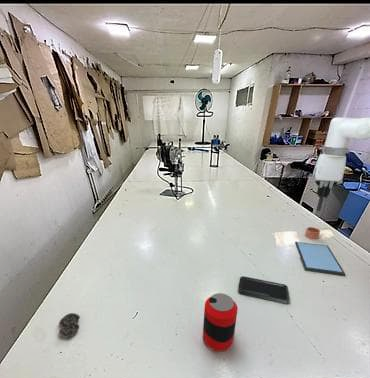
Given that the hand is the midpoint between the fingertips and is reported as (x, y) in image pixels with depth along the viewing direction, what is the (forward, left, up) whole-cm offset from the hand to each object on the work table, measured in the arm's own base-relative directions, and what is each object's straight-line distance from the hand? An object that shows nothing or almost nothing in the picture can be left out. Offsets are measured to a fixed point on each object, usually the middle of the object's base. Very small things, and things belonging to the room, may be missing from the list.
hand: (322, 196), depth 100 cm
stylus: (0, 0, -7) cm, 7 cm away
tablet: (+2, +18, -20) cm, 27 cm away
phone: (+24, +43, -20) cm, 53 cm away
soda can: (+36, +64, -20) cm, 76 cm away
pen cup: (0, 0, -20) cm, 20 cm away
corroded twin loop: (+74, +70, -20) cm, 104 cm away
